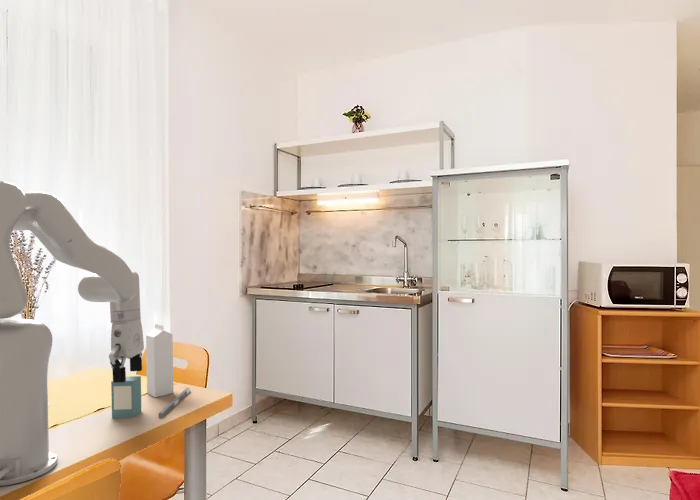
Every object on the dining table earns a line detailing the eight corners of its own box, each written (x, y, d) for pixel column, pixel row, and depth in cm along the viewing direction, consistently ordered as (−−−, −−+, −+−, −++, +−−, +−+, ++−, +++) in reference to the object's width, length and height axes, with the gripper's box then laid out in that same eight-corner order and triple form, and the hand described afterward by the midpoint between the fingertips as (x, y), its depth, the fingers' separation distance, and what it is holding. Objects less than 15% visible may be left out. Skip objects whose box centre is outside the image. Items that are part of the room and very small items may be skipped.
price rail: (163, 417, 120) (163, 413, 120) (158, 417, 120) (158, 413, 120) (190, 391, 142) (190, 387, 142) (186, 391, 142) (186, 387, 142)
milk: (155, 398, 137) (153, 327, 137) (146, 393, 141) (145, 325, 141) (174, 392, 141) (172, 324, 141) (165, 389, 146) (163, 322, 145)
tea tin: (141, 411, 125) (140, 376, 125) (133, 417, 121) (133, 381, 121) (120, 411, 125) (119, 376, 125) (111, 418, 121) (111, 381, 121)
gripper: (124, 321, 115) (126, 386, 115) (152, 310, 132) (154, 366, 133) (95, 322, 115) (97, 387, 115) (126, 310, 132) (129, 367, 132)
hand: (128, 376), depth 124 cm, fingers open, 9 cm apart
